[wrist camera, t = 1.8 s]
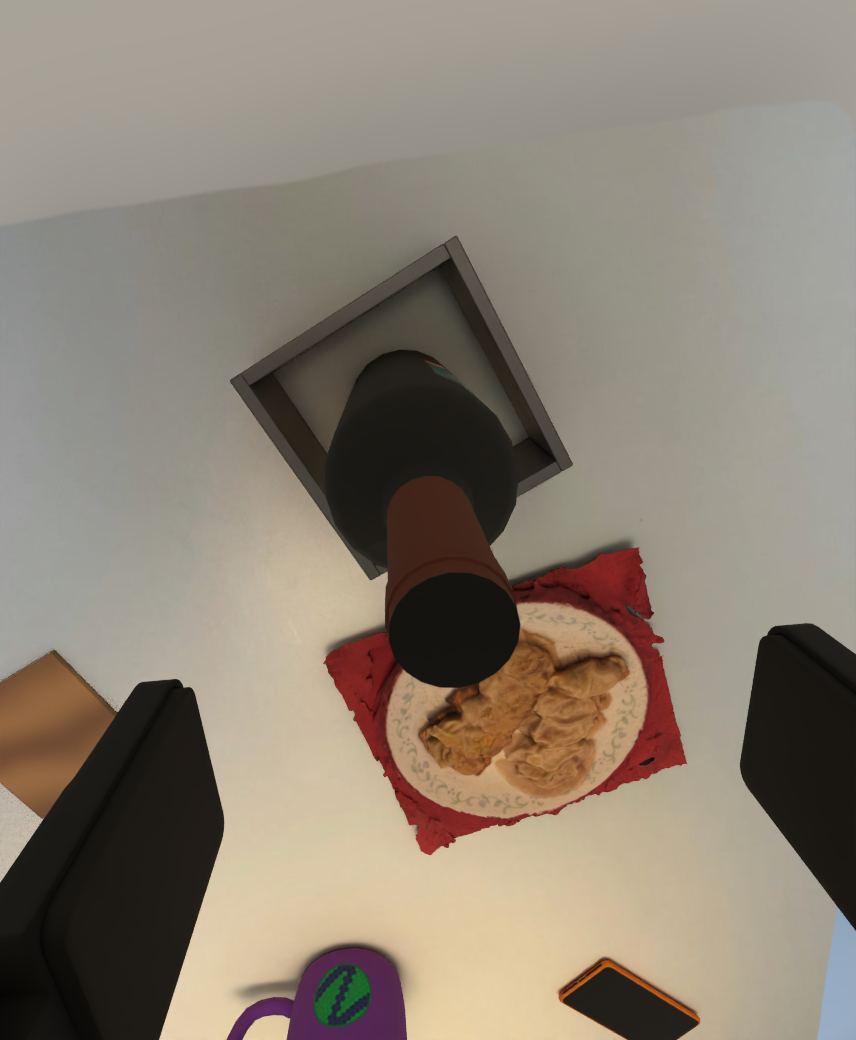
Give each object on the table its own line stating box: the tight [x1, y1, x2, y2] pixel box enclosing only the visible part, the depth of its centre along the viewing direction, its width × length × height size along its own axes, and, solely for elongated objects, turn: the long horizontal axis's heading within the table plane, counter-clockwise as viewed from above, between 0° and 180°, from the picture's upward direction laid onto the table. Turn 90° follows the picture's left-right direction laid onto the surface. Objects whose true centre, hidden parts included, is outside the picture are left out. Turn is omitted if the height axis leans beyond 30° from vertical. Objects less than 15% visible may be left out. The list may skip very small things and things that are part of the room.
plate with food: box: [323, 548, 687, 855], centre depth 48 cm, size 24×26×4 cm
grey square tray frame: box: [230, 236, 573, 580], centre depth 37 cm, size 15×15×7 cm
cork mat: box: [0, 651, 117, 819], centre depth 47 cm, size 12×12×1 cm
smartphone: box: [559, 960, 700, 1040], centre depth 64 cm, size 8×17×1 cm, turn 48°
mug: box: [227, 948, 407, 1040], centre depth 55 cm, size 17×11×10 cm, turn 93°
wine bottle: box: [325, 350, 521, 688], centre depth 26 cm, size 8×8×30 cm
